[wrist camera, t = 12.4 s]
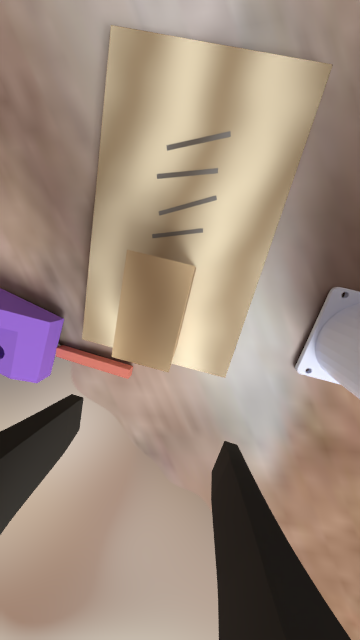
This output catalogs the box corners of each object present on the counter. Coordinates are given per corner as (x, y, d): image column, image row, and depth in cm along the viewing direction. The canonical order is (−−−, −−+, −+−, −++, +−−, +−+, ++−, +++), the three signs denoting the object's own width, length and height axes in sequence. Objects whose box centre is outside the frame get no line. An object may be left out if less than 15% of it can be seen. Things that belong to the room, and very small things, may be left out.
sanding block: (196, 268, 14) (194, 265, 10) (176, 346, 16) (168, 372, 12) (148, 256, 15) (126, 249, 10) (134, 335, 17) (111, 357, 12)
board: (320, 84, 12) (333, 64, 11) (223, 371, 18) (225, 378, 17) (119, 48, 13) (110, 24, 11) (89, 335, 18) (81, 339, 17)
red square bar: (133, 366, 18) (129, 369, 18) (131, 374, 19) (128, 378, 18) (52, 341, 19) (45, 344, 18) (52, 350, 19) (45, 353, 19)
